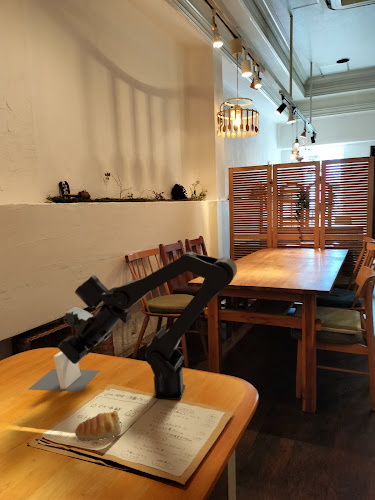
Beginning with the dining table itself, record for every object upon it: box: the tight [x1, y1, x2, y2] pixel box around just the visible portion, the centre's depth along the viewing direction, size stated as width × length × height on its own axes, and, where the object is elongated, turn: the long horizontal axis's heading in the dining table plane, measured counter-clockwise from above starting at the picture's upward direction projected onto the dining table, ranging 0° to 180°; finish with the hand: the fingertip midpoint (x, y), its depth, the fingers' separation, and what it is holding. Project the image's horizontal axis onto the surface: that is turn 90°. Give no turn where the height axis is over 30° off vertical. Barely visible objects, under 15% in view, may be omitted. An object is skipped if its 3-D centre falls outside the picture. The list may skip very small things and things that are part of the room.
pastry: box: [74, 410, 122, 441], centre depth 79 cm, size 9×7×4 cm
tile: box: [53, 350, 81, 389], centre depth 100 cm, size 2×8×9 cm, turn 166°
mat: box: [28, 368, 100, 393], centre depth 102 cm, size 15×12×1 cm
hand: (69, 358), depth 100 cm, fingers closed
